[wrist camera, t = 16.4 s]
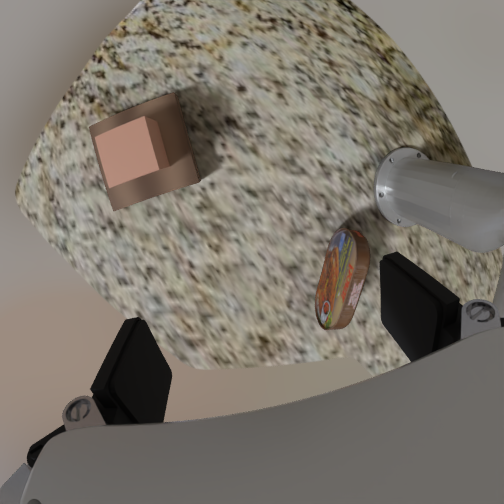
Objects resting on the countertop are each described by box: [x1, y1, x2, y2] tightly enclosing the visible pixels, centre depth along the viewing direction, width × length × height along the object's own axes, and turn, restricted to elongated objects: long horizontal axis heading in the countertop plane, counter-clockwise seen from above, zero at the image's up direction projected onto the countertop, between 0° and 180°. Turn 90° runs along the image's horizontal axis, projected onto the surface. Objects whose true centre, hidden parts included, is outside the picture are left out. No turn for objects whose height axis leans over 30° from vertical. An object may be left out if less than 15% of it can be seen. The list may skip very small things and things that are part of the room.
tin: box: [315, 228, 370, 330], centre depth 39 cm, size 15×3×8 cm, turn 170°
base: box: [89, 92, 201, 211], centre depth 33 cm, size 12×12×3 cm
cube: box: [95, 116, 170, 188], centre depth 29 cm, size 6×6×6 cm
